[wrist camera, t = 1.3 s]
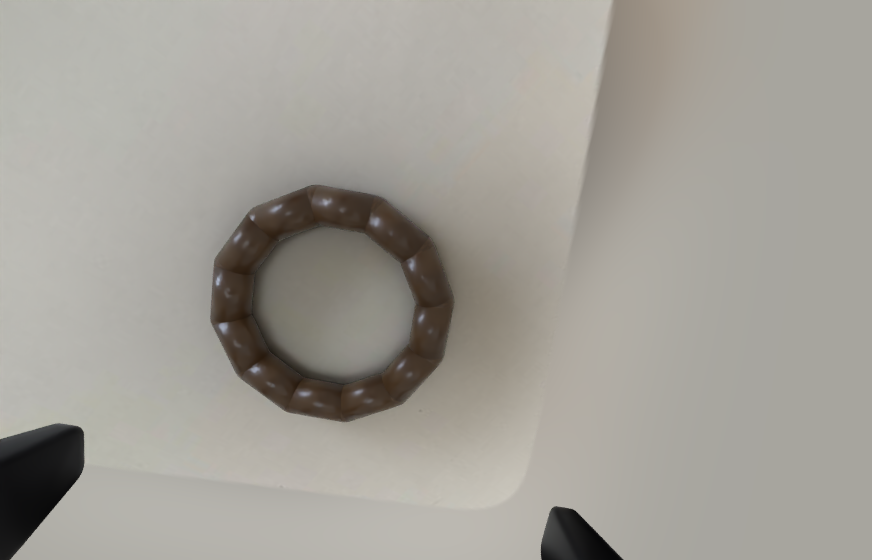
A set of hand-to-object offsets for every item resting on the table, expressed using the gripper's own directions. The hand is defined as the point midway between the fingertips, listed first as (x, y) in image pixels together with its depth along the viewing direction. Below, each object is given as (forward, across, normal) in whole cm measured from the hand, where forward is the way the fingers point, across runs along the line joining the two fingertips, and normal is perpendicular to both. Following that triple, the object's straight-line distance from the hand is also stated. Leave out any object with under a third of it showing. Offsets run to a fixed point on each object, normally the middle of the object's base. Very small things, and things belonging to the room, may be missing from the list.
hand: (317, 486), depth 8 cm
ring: (+11, +2, 0) cm, 11 cm away
